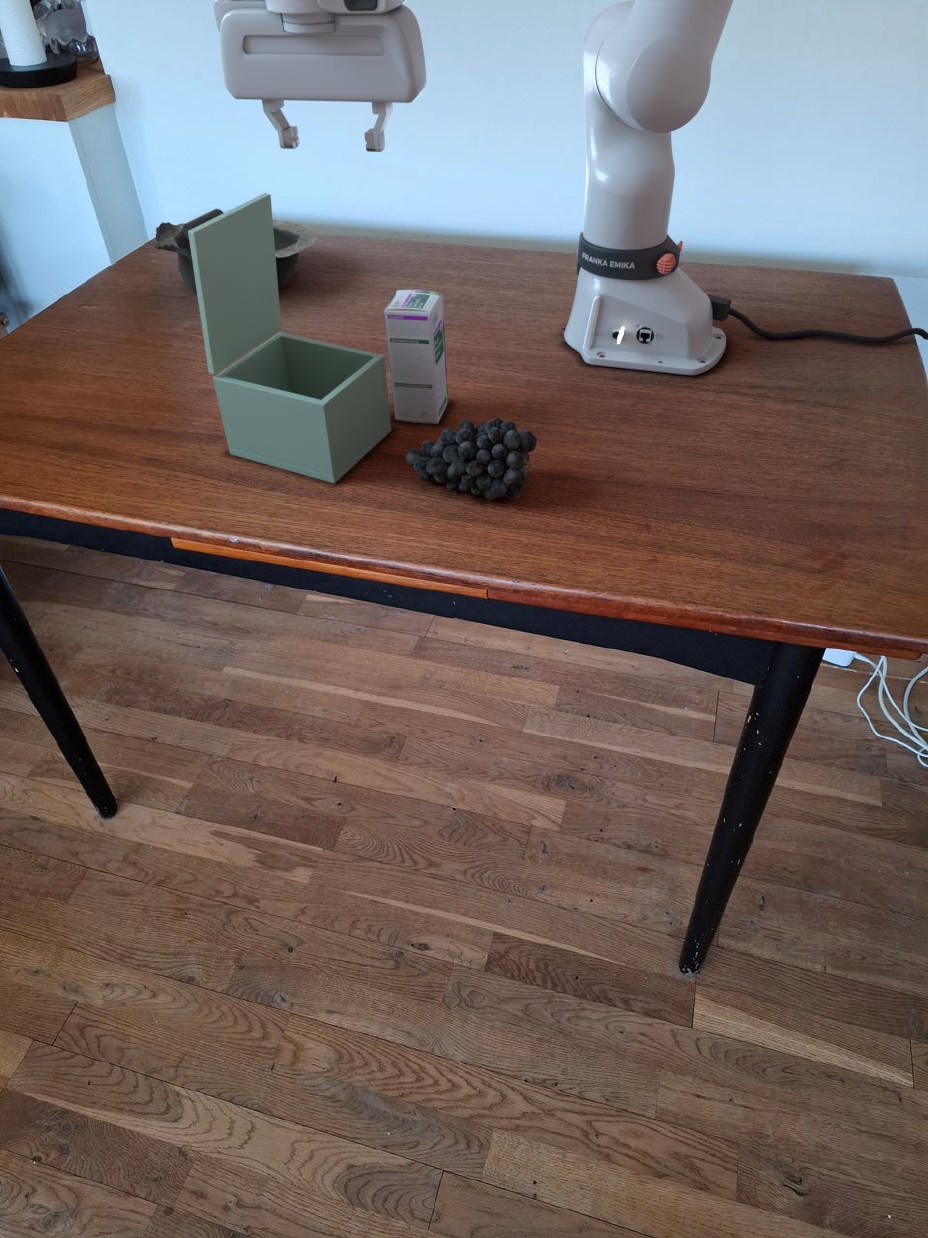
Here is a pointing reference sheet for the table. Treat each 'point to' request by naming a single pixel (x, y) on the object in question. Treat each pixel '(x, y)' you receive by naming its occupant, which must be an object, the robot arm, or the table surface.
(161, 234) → the stone bowl
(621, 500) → the table surface
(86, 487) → the table surface
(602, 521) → the table surface
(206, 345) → the lid
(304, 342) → the chest
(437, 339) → the syrup box
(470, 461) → the fruit
